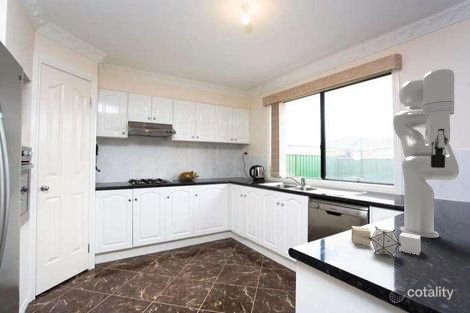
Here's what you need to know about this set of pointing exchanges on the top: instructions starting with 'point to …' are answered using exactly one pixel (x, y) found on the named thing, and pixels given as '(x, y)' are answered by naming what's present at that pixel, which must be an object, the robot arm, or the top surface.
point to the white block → (410, 243)
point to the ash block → (361, 235)
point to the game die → (384, 241)
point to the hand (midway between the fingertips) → (437, 167)
